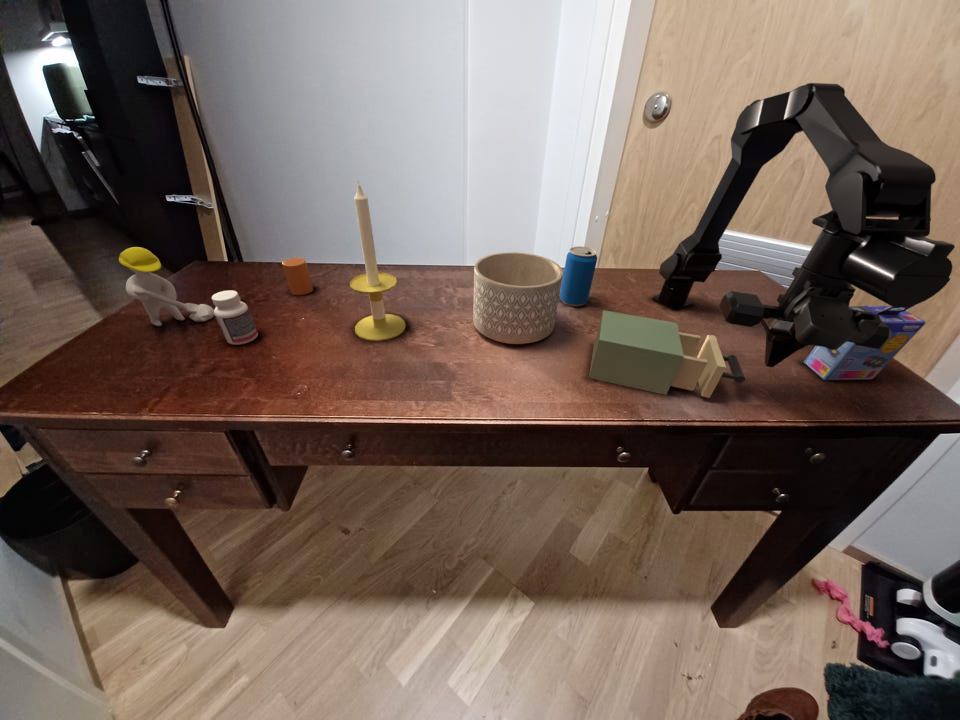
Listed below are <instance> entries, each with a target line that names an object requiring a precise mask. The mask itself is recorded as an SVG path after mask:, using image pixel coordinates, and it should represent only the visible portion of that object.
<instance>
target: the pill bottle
mask: <svg viewBox="0 0 960 720" xmlns="http://www.w3.org/2000/svg"><path fill="white" fill-rule="evenodd" d="M211 300H212V303H213V305H214V306H215V308H214V315H215V316H214V317H215V319H216V321H217V323H218V326H219V328H220V330H221V332H222V334H223V336H224V339H225V340H226V342H227V343H228V344H230V345H233V346H241V345H245V344H249V343H251V342H253V341H254V340H255V339H257V338H258V335H259V332H258V329H257V327H256V325H255V321H254V319H253V316H252V314H251V312H250V308H249V306H248V305H247V304H246V303H245V302H244V301H242V300H241V297H240V294H239V292H238V291H236V290H230V289H229V290H222V291H219V292H217V293H214V294H213V295H212V296H211Z"/></svg>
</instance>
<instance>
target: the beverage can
mask: <svg viewBox="0 0 960 720" xmlns="http://www.w3.org/2000/svg"><path fill="white" fill-rule="evenodd" d="M597 262H598V255H597V250H595V249H594V248H591V247H588V246H573V247H571V248H569V252H568V253H567V254H566V258H565V263H564V269H563V277H562V283H561V288H560V294H559V300H561V302H562V303H563V304H564V305H567V306H569V307H581V306H583V305H585V304H587V303H588V301H589V297H590V294H591V293H590V292H591V290H592V289H591V288H592V284H593V280H594V277H595V271H596V266H597Z"/></svg>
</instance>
